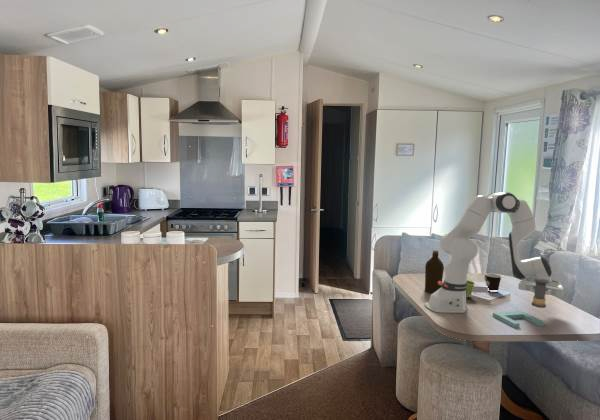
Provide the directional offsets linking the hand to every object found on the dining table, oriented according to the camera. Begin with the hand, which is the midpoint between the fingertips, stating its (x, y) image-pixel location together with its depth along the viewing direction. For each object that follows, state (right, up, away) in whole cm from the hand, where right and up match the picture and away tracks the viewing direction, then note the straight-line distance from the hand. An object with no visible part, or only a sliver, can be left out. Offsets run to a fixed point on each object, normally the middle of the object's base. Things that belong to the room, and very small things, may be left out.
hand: (539, 291), depth 225 cm
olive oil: (-38, -9, +52) cm, 65 cm away
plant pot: (-21, -11, +44) cm, 50 cm away
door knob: (0, -7, +2) cm, 7 cm away
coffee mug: (0, -10, +57) cm, 58 cm away
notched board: (-8, -16, +6) cm, 19 cm away
